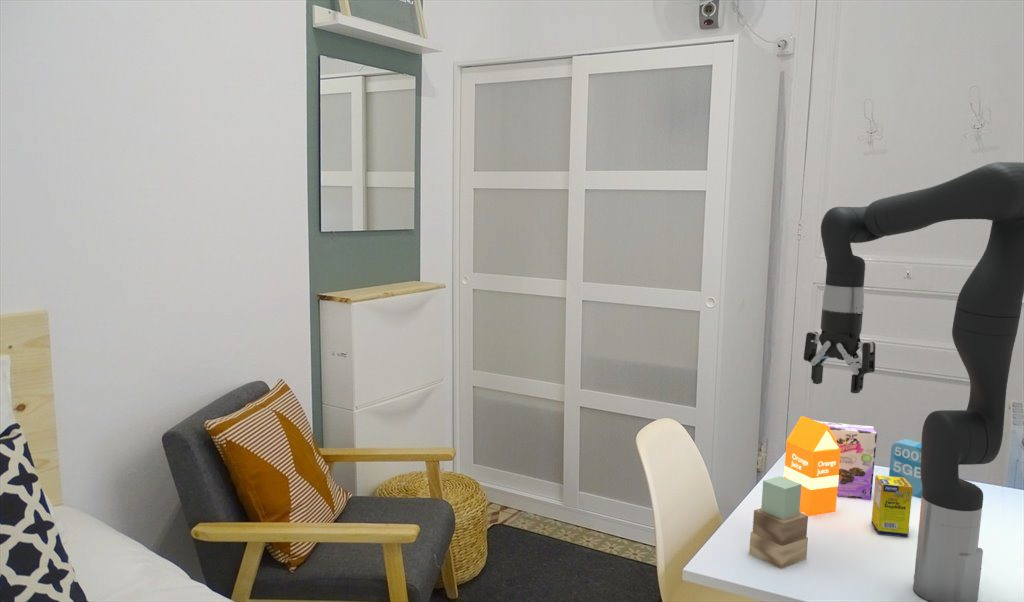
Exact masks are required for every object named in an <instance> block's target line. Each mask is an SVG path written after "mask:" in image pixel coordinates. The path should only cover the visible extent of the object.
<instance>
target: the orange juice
mask: <svg viewBox="0 0 1024 602" xmlns="http://www.w3.org/2000/svg"><path fill="white" fill-rule="evenodd" d="M798 419H799V420H797V423H796V425H795V426H794V428H793V429H792V430H791V432H790V434H789V436H788V437H787V439H786V441H785V442H786V443H785V457H784V459H785V460H784V467H783V469H784V470H783V478H786V479H789V480H792V481H794V482H797V483H800V484H802V487H801V500H800V512H801V511H802V512H803V513H802V512H801V513H802V514H804V513H805V514H804V515H807V516H808V517H811V515H812V516H818V514H819V515H824V514H829V513H832V514H833V513H836V509H837V500H838V496H837V489H838V480H839V464H840V452H841V449H840V448H839V446H838V444H837V442H836V440H835V438H834V436H833V434H832V432H831V430H830V428H829V426H827V425H825V424H822V423H820V422H817V421H818V420H816V421H814V419H811V418H808V417H806V416H803V415H801V416H800V418H798Z"/></svg>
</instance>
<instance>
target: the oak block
mask: <svg viewBox="0 0 1024 602" xmlns="http://www.w3.org/2000/svg"><path fill="white" fill-rule="evenodd" d="M749 533H750V534H749V535H750V536H749V551H748V553H749V554H750V555H751V556H753V557H756V558H758V559H760V560H762V561H764V562H767V563H768V564H771V565H773V566H774V567H777V568H779V569H784V568H787V567H790V566H792V565H795V564H797V563H801V562H803V561H805V560H807V554H808V553H807V551H808V543H809V542H808V541H809V540H808V539H809V538H808V537H807V536H806V539H803V540H800V541H797V542H794V543H791V544H787V545H784V546H781V545H778V544H776V543H774V542H772V541H770V540H768V539H766V538H763V537H761V536H759V535H757V534H755V533H753V530H752V531H751V532H749Z"/></svg>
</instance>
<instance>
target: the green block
mask: <svg viewBox="0 0 1024 602" xmlns="http://www.w3.org/2000/svg"><path fill="white" fill-rule="evenodd" d="M801 487H802V484H800V483H797V482H794V481H792V480H789V479H786V478H784V476H775V477H772V478H768V479H766V480H763V481H762V492H761V493H762V494H761V506H760V507H761V511H763V512H766V513H768V514H770V515H773V516H775V517H778V518H780V519H783V520H784V519H787V518H790V517H793V516H795V515H798V514H799V513H801V511H800V500H801Z"/></svg>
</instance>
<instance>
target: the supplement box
mask: <svg viewBox="0 0 1024 602" xmlns="http://www.w3.org/2000/svg"><path fill="white" fill-rule="evenodd" d="M873 489H874V490H873V503H872V512H871V515H872V516H871V525H872V526H873V528H874V530H875V531H876V532H877V534H878V535H884V536H886V535H887V536H894V537H904V538H905V537H906V538H907V537H909V528H910V520H911V519H910V516H911V508H912V497H913V496H912V489H913V487H912V486H911V485H910V484H909V482H908V481H907V480H906V479H905V478H903V477H892V476H889V475H881V474H880V475H879V474H878V475H877V474H876V475H875V479H874V488H873Z"/></svg>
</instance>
